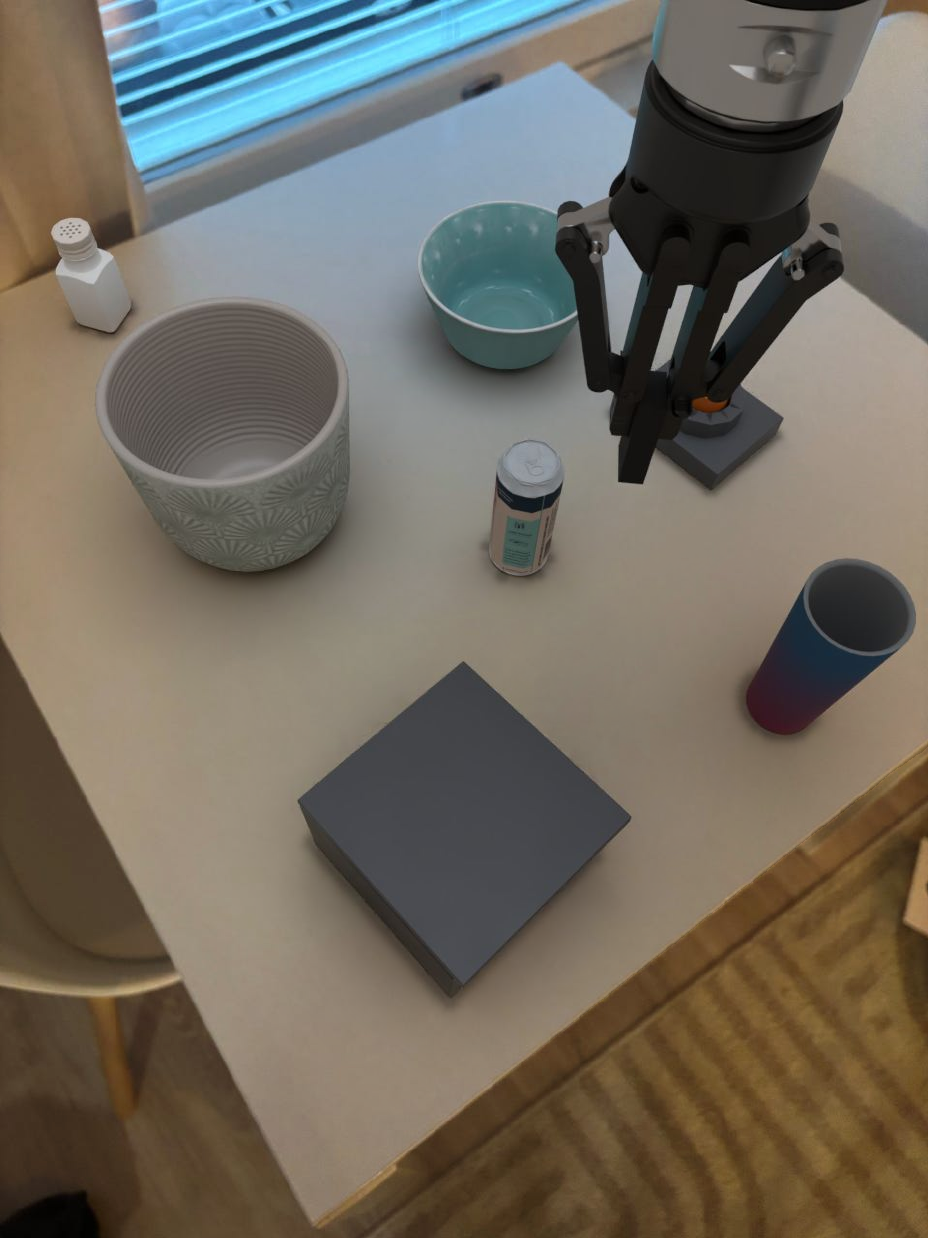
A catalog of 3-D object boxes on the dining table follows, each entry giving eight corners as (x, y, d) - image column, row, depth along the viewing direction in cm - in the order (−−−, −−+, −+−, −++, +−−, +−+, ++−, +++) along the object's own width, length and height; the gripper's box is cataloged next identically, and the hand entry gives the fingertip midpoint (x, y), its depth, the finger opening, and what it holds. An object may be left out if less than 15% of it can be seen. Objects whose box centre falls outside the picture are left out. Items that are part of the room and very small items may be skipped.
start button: (735, 397, 80) (741, 383, 78) (708, 420, 78) (713, 406, 77) (702, 373, 81) (708, 359, 79) (675, 395, 80) (680, 381, 78)
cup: (779, 764, 68) (863, 676, 55) (715, 693, 71) (779, 593, 57) (844, 713, 70) (940, 617, 57) (779, 646, 73) (856, 539, 59)
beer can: (532, 521, 77) (548, 425, 67) (557, 567, 75) (578, 476, 65) (479, 539, 76) (486, 445, 66) (502, 586, 74) (514, 497, 64)
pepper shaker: (75, 325, 86) (36, 239, 78) (96, 296, 88) (61, 209, 80) (114, 336, 86) (80, 251, 77) (135, 306, 88) (103, 220, 79)
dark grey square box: (595, 853, 65) (617, 816, 57) (450, 999, 60) (452, 980, 52) (459, 718, 69) (463, 666, 61) (314, 843, 64) (298, 804, 57)
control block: (776, 434, 83) (791, 403, 79) (710, 490, 79) (723, 460, 76) (680, 363, 86) (691, 331, 83) (614, 415, 83) (622, 383, 80)
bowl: (577, 411, 83) (591, 342, 76) (402, 383, 84) (400, 313, 77) (597, 287, 91) (611, 213, 83) (436, 262, 91) (436, 188, 84)
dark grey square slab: (630, 821, 56) (632, 816, 55) (463, 988, 51) (463, 986, 50) (463, 666, 61) (463, 660, 61) (298, 804, 57) (296, 800, 56)
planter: (379, 583, 74) (367, 463, 61) (160, 621, 72) (98, 505, 59) (345, 419, 82) (328, 280, 69) (147, 448, 80) (89, 311, 66)
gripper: (570, 122, 33) (517, 506, 54) (938, 154, 33) (743, 527, 54) (577, 2, 37) (524, 406, 58) (910, 30, 37) (737, 425, 58)
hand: (630, 464), depth 56 cm, fingers closed
